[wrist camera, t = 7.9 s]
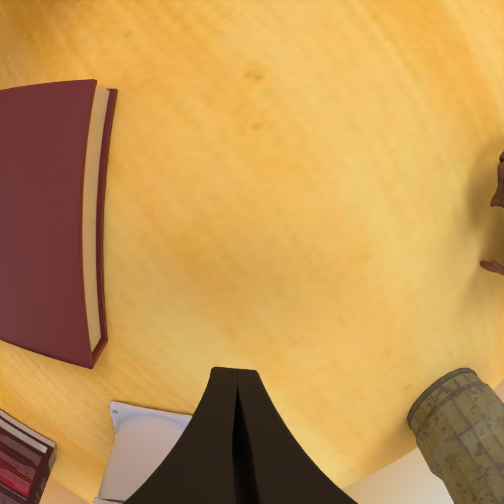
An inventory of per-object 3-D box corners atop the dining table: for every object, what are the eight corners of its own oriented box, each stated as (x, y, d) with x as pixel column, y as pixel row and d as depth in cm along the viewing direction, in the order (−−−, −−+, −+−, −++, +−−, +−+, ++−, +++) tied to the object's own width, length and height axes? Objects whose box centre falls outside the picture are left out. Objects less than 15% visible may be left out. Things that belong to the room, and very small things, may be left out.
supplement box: (1, 425, 23) (-45, 512, 8) (-4, 405, 22) (-58, 500, 7) (58, 459, 25) (24, 557, 10) (58, 443, 23) (17, 553, 8)
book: (108, 341, 19) (92, 369, 16) (-5, 309, 18) (-27, 328, 15) (117, 89, 14) (94, 79, 11) (-13, 101, 13) (-42, 99, 10)
